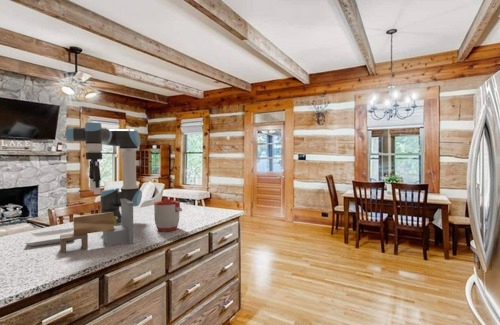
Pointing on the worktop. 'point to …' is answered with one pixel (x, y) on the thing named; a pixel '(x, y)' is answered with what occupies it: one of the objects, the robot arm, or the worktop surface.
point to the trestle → (73, 237)
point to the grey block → (122, 226)
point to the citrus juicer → (167, 214)
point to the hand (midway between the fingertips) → (95, 192)
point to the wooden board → (93, 223)
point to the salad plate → (47, 237)
